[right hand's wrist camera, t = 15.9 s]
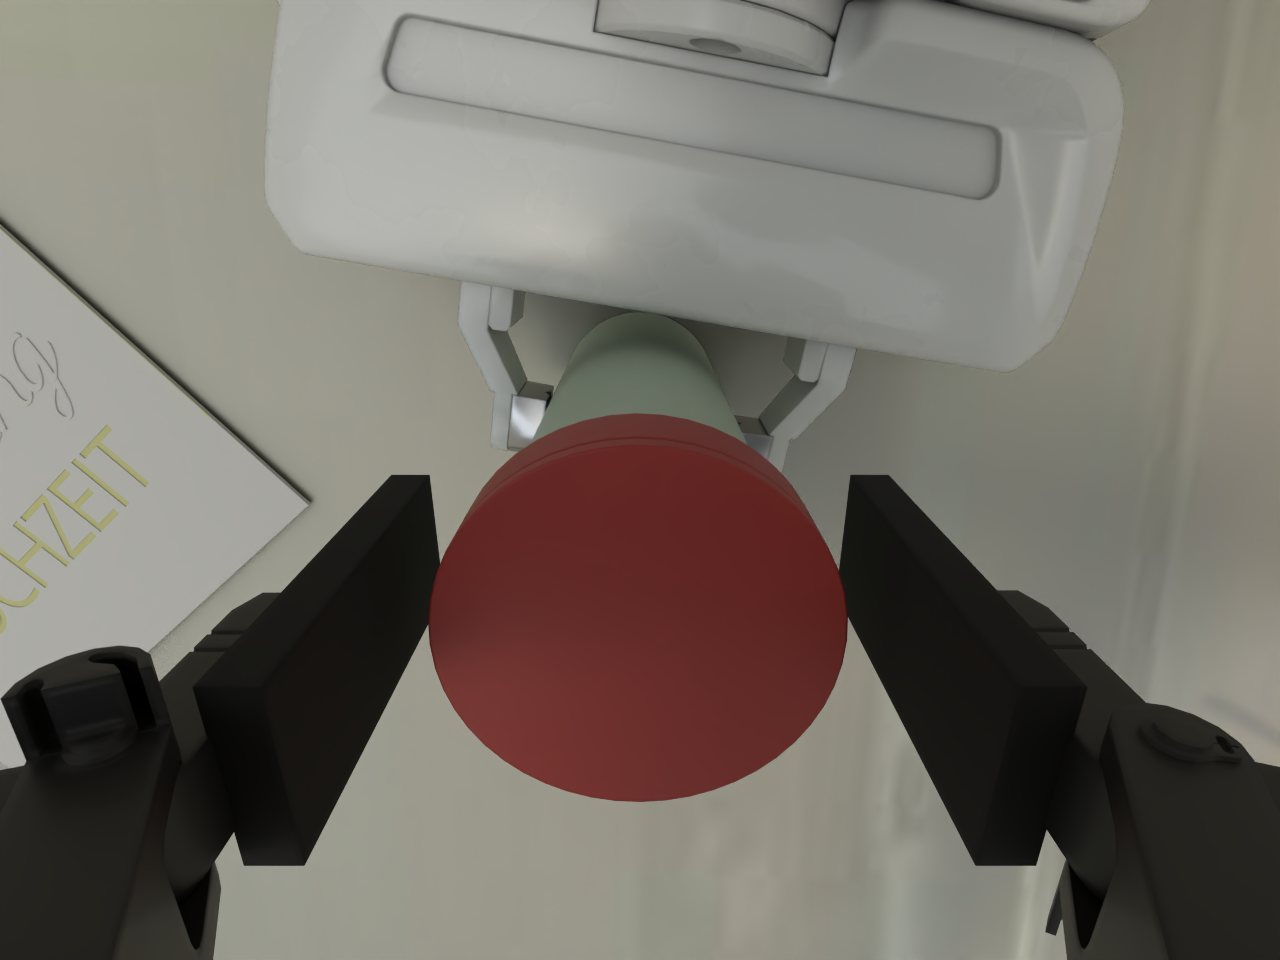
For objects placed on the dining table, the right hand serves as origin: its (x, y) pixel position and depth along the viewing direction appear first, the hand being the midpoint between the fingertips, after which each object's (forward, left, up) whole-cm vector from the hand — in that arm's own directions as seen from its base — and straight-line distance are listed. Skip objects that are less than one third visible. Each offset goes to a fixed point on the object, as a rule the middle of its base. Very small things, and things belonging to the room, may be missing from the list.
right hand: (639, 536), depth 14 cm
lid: (0, 0, +3) cm, 3 cm away
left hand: (-1, +1, -7) cm, 7 cm away
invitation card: (+14, +23, -13) cm, 30 cm away
